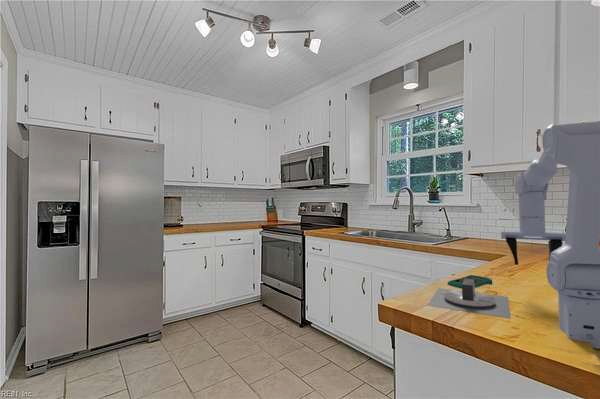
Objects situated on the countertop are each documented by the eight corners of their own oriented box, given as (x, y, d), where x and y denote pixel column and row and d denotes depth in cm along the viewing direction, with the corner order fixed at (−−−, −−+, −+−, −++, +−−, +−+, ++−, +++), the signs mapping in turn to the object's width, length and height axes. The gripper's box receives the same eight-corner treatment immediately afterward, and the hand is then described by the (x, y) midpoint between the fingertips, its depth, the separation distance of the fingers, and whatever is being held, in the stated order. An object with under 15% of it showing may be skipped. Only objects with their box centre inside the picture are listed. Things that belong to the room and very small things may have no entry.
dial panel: (510, 323, 69) (510, 317, 69) (427, 309, 79) (427, 304, 79) (508, 301, 84) (508, 296, 84) (438, 291, 94) (438, 287, 94)
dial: (495, 311, 73) (494, 290, 73) (441, 303, 80) (440, 284, 80) (495, 297, 83) (494, 279, 83) (447, 291, 90) (446, 274, 90)
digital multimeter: (446, 289, 98) (445, 280, 98) (471, 282, 106) (470, 273, 106) (468, 295, 92) (468, 285, 92) (493, 286, 100) (493, 278, 100)
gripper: (563, 216, 84) (565, 265, 83) (500, 216, 92) (502, 260, 91) (568, 217, 78) (569, 270, 78) (500, 217, 86) (502, 265, 86)
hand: (533, 265), depth 84 cm, fingers open, 7 cm apart
